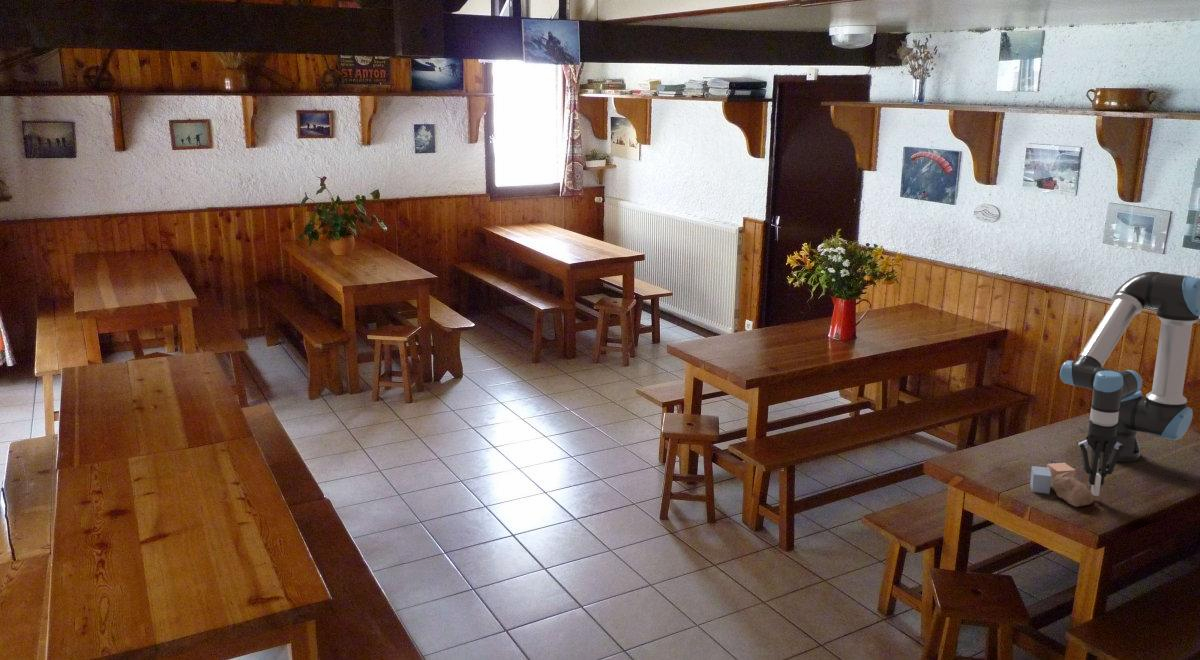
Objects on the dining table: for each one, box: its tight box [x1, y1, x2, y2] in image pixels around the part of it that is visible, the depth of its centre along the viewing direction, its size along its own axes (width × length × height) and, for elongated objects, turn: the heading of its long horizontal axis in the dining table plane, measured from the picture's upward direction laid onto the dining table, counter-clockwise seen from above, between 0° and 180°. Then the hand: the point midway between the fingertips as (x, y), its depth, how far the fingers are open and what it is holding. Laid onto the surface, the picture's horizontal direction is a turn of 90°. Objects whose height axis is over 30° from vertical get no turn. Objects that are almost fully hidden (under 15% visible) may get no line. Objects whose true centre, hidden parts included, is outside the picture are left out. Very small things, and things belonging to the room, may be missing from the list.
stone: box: [1052, 472, 1095, 508], centre depth 286 cm, size 12×9×10 cm
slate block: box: [1029, 465, 1051, 495], centre depth 294 cm, size 5×7×6 cm
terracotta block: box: [1046, 462, 1077, 487], centre depth 297 cm, size 6×6×6 cm
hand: (1094, 494), depth 286 cm, fingers closed
